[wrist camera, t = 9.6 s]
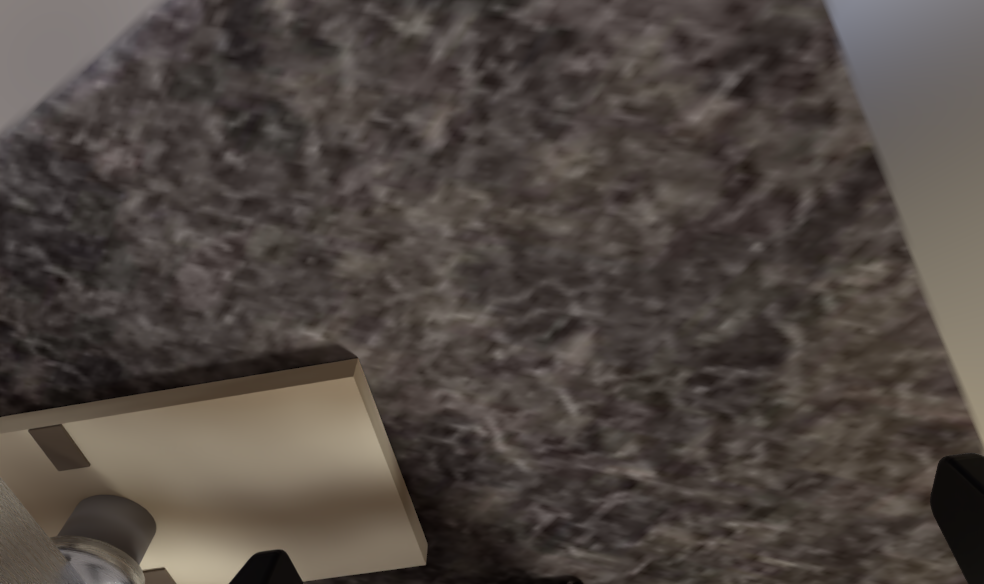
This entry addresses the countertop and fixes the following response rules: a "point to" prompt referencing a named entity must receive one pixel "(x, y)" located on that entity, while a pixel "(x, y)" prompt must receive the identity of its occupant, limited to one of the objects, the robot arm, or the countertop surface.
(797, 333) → the countertop surface
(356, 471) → the post board
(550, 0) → the countertop surface
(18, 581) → the grey rectangular bar
